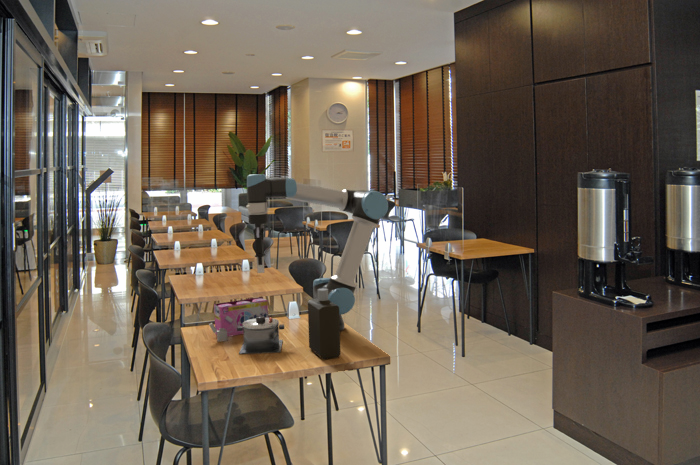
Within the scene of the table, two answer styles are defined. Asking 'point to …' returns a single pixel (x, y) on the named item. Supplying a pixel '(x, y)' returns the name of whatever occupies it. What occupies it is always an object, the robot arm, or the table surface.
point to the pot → (261, 340)
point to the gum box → (238, 313)
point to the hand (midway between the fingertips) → (260, 272)
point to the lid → (260, 323)
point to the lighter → (219, 333)
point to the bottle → (324, 326)
